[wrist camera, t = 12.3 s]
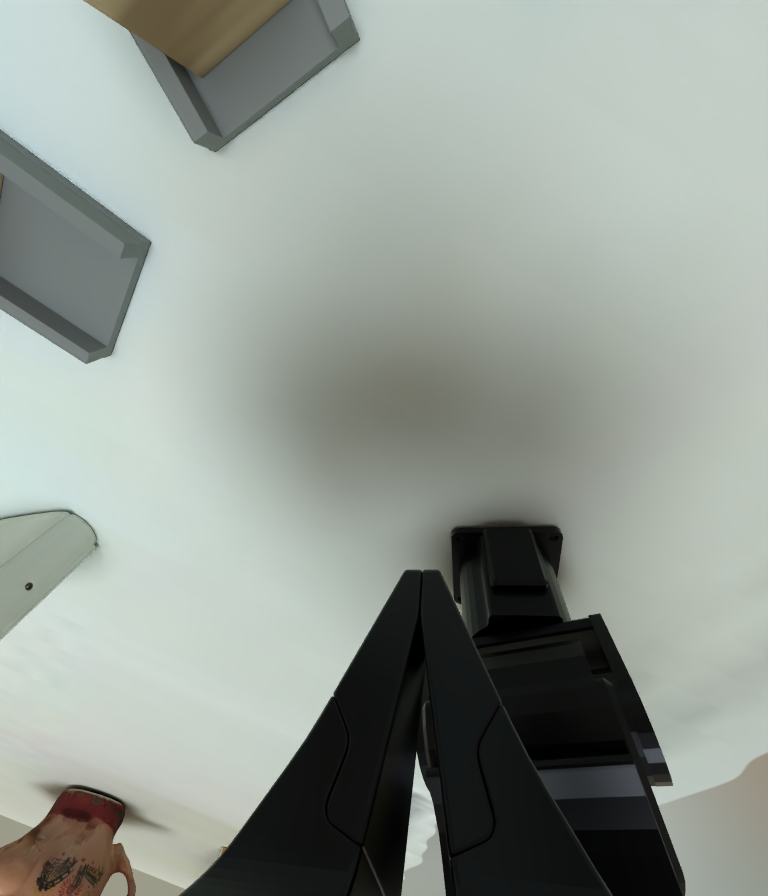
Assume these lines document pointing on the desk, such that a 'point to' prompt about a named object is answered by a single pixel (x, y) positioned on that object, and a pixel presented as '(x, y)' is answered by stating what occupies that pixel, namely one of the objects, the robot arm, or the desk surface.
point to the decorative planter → (68, 850)
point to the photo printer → (38, 560)
